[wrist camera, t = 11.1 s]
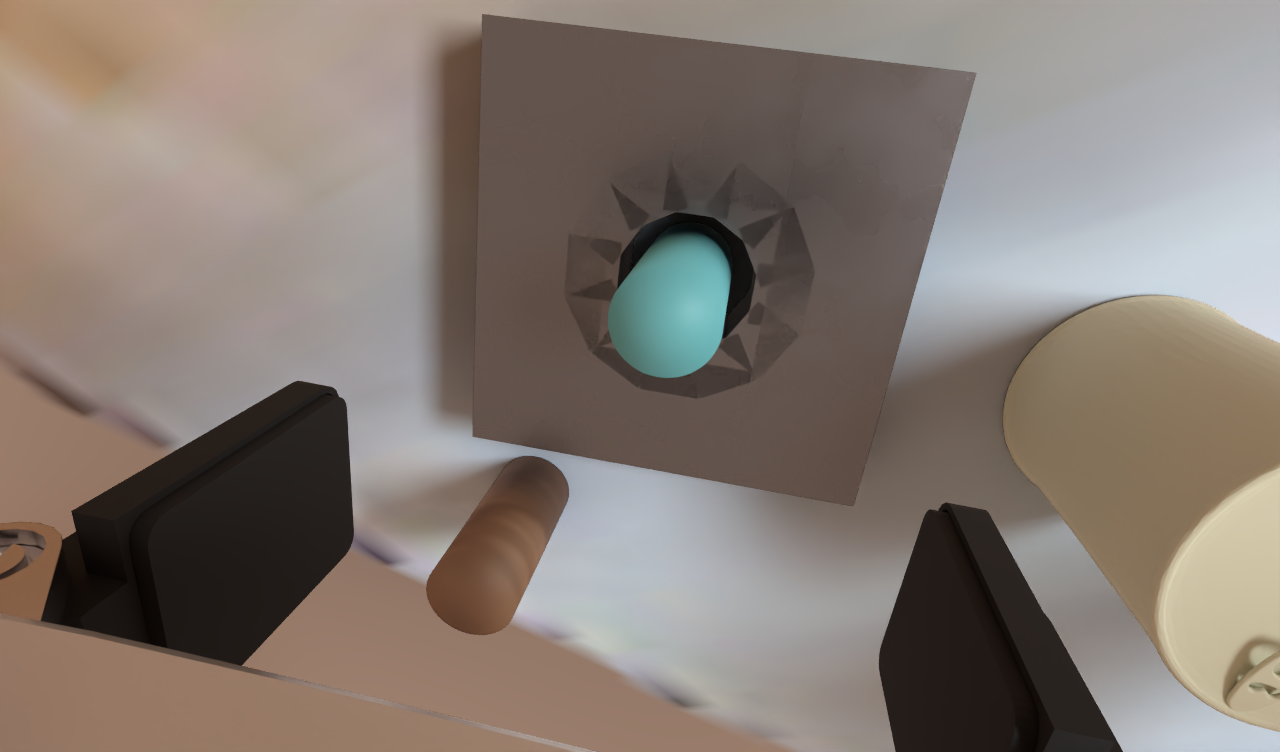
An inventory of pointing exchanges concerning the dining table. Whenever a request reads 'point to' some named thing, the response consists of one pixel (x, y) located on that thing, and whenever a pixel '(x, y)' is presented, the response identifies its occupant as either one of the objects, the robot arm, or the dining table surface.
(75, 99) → the dining table surface
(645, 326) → the teal peg
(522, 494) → the walnut peg
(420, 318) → the dining table surface
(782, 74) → the socket plate
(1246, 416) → the can
